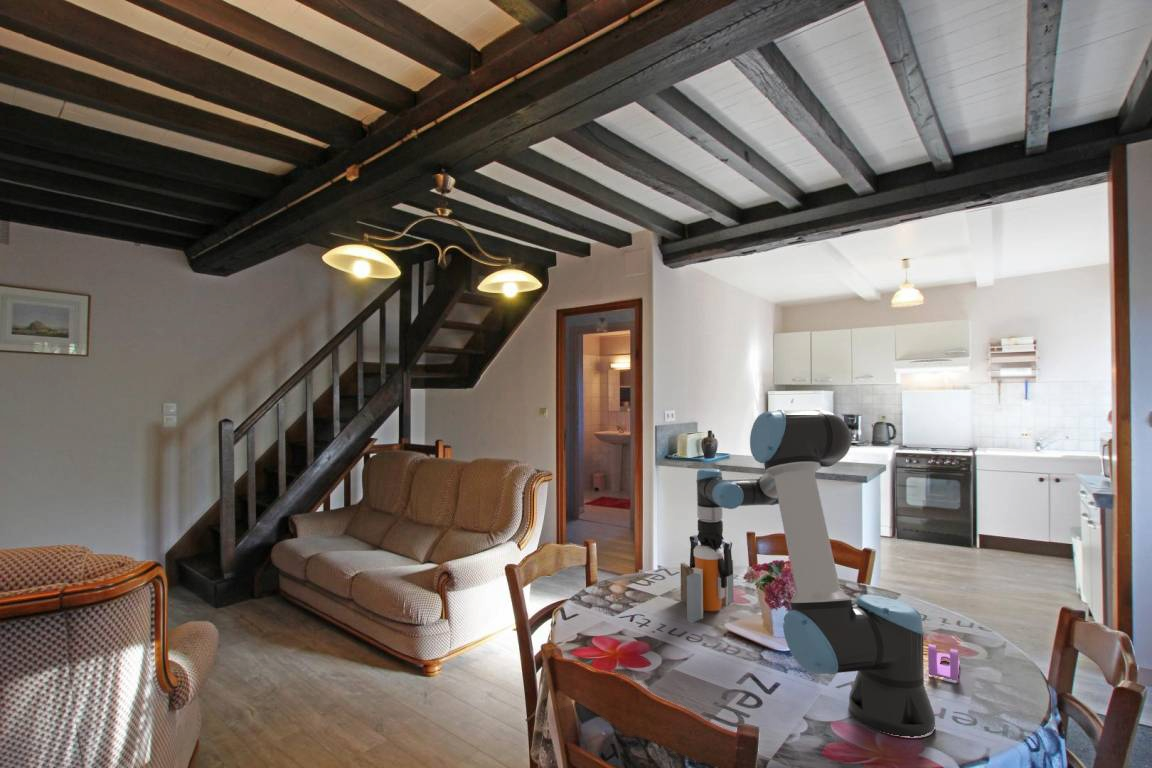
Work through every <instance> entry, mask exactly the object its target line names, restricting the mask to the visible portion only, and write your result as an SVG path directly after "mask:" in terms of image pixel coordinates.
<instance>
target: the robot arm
mask: <svg viewBox="0 0 1152 768" xmlns="http://www.w3.org/2000/svg"><path fill="white" fill-rule="evenodd" d="M846 423H847V422H845V421H844V420H843V419H842V418H841V417H840V416H839V415H837V414H834V413H833V412H831V411H828V410H820V409H819V410H782V409H778V410H772V411H769V410H768V411H764V412H762V413H761V414H759V415H758V416H757V417H756V418H755V420H754V422H753V425H752V427H751V429H750V435H749V436H750V437H749V447H750V452H751V453H750V454H751V455H752V457H753V459H754V461H756V462H757V463H760V464H764V465H763V466H764V470H765V473H763V475H762V476H760V477H759V478H750V479H748V478H747V479H723V474H722V473H723V472H722V470H720V469H719V468H700V469H698V470H697V472H696V473H697V474H696V495H697V497H696V499H697V500H696V501H697V505H696V506H697V510H696V511H697V512H696V513H697V518H698V519H697V531H698V533H697V535H696V534H693V535H691V536H689V542H690V551H689V552H690V553H689V554H690V555H689V566H690V567H691V568H693V569H694V568H695V558H694V548H695V547H696V546H697V545H699V543H700V544H701V542H702V543H709V544H711V545H709V546H710V547H711V548H712V549H713V550H715V552H716V549H719V548H720V549H723V556H722V559H719V558H718V559H719V560H718V570H719V573H720V576H719V577H718V599H722V598H724V597H725V587H727V577H728V576H730V575H732V574H733V575H734V566H733V567H732V560H733V558H732V547H733V542H732V541H727V540H725V539H724V537H723V532H724V529H723V528H724V527H723V526H724V524H723V523H724V521H723V520H722V519H723V509H728V510H734V509H736V508H738V507H743V506H744V507H747V506H775V505H779V511H780V515H781V516H780V517H781V521H782V522H781V523H782V528H783V532H784V536H785V542H786V547H787V553H788V558H789V562H790V567H791V573H792V577H793V578H792V579H793V584H794V588H795V593H794V595H793V596H792V598H791V599H790V607H791V610H789V611H788V612H787V613H785V615H784V617H783V623H782V624H783V625H782V627H783V635H784V638H785V641H786V644H787V647H788V649H789V652H790V654H791V655H792V657H793V658H794V659H795V660H796V661H797V663H798V664H799V666H800V667H801V668H803V669H804V670H805V671H806V672H808V673H810V674H813V675H814V674H815V675H831V676H832V675H836V674H840V673H849V672H857V674H856V676H855V678H854V681H853V685H852V687H851V688H850V689H851V690H850V692H849V698H848V699H849V701H848V702H849V706H848V707H849V711H850V713H851V714H852V716H854V718H856V720H858V721H859V722H860V723H861V724H864V725H865V726H867V727H868V728H870V727H871V729H872V728H873V729H872V730H874V729H875V730H874V731H876V730H878V731H877V732H879V731H881V732H885V733H889V734H893V735H899V736H910V737H914V736H921V735H925V734H927V733H929V732H931V731H932V730H933V729H934V727H935V728H936V716H935V715H936V714H935V712H934V710H933V706H932V704H931V701H930V698H929V696H928V693H927V691H926V687H925V677H924V635H925V631H924V630H923V628H924V627H923V619H922V615H921V614H920V612H919V611H918V610H917V609H916V608H914V607H913V606H911V605H910V604H908V603H907V604H906V603H905V602H902V601H900V600H896V599H893V598H889V597H886V596H881V595H876V594H860V595H859V596H857V598H856V600H855V604H856V606H853V603H852V599H851V597H850V596H849V595H847V593H845V592H844V591H843V590H842V589H841V587H840V582H839V577H838V572H837V568H836V563H835V560H834V554H833V550H832V546H831V542H830V536H829V532H828V528H827V523H826V518H825V515H824V514H825V513H824V510H823V506H822V505H823V504H822V501H821V496H820V492H819V487H818V483H817V479H816V473H817V472H818V471H819V470H821V469H822V468H829V467H833V466H835V464H837V463H838V462H840V461H841V460H842V459H843V458H845V456H846V455H847V454H848V452H849V451H850V449H851V444H852V434H851V431H850V428H849V427H848V424H846ZM701 546H703V545H702V544H701ZM723 558H724V560H723ZM881 732H880V733H881Z"/></svg>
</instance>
